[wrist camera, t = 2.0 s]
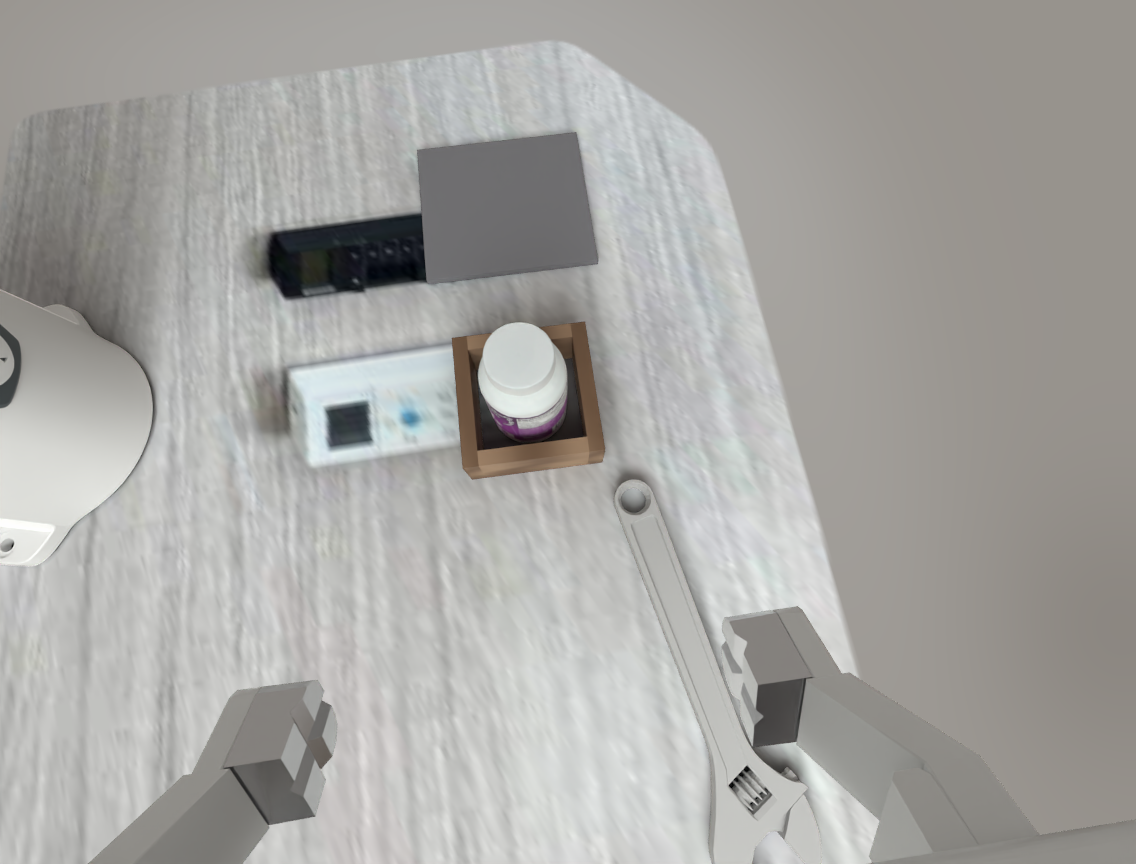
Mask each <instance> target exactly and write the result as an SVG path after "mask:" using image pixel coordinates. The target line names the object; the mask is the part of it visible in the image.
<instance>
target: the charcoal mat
mask: <svg viewBox="0 0 1136 864" xmlns="http://www.w3.org/2000/svg"><path fill="white" fill-rule="evenodd" d="M417 155H418V168H419V182H420V196H421V210H422V224H423V238H424V252H425V266H426V280H427V282H428V284H434V283H443V282H451V281H459V280H468V279H476V278H485V277H493V276H501V275H510V274H518V273H526V272H535V271H543V270H551V269H560V268H568V267H576V266H585V265H593V264H598V257H597V251H596V245H595V239H594V233H593V227H592V222H591V216H590V210H589V204H588V198H587V192H586V186H585V181H584V175H583V169H582V163H581V157H580V151H579V145H578V140H577V134H576V132H575V133H566V134H557V135H548V136H539V137H530V138H521V139H512V140H503V141H494V142H485V143H476V144H467V145H458V146H449V147H440V148H431V149H422V150H417Z"/></svg>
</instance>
